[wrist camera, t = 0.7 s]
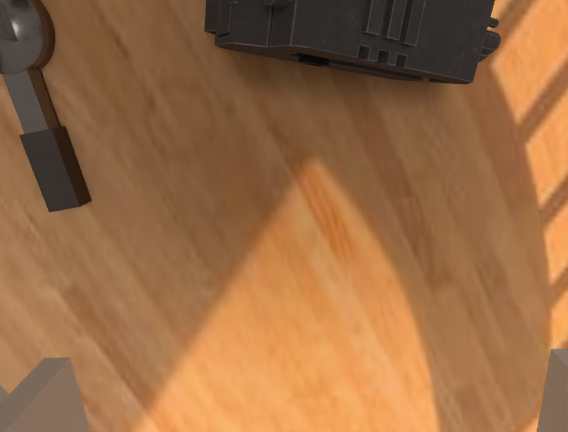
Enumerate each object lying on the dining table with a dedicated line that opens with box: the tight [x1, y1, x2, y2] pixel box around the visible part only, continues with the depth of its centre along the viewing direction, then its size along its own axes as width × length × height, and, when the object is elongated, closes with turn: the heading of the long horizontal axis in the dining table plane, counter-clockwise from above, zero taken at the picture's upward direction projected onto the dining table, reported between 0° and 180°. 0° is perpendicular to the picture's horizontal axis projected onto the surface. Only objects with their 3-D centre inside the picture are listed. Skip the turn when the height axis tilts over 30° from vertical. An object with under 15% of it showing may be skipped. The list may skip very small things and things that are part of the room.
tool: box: [204, 0, 501, 84], centre depth 27 cm, size 6×19×15 cm, turn 82°
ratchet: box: [0, 0, 91, 212], centre depth 31 cm, size 19×7×7 cm, turn 11°
